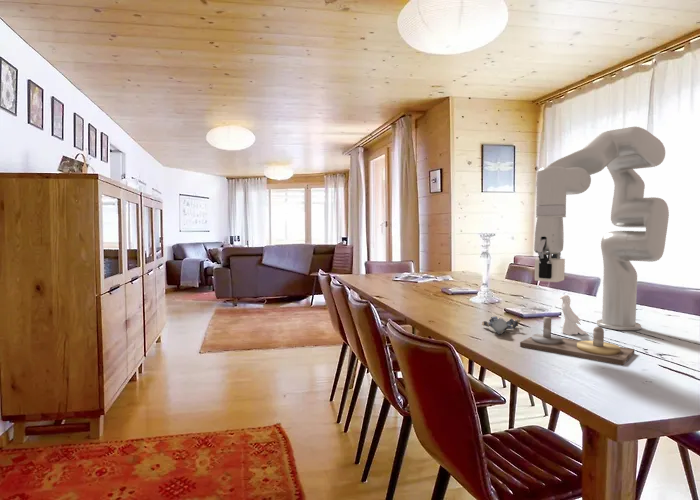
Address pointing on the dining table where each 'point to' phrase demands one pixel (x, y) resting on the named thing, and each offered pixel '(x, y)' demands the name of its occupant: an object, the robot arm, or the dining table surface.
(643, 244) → the robot arm
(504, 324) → the toy
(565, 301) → the figurine
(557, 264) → the collar
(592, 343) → the workboard
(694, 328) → the dining table surface
